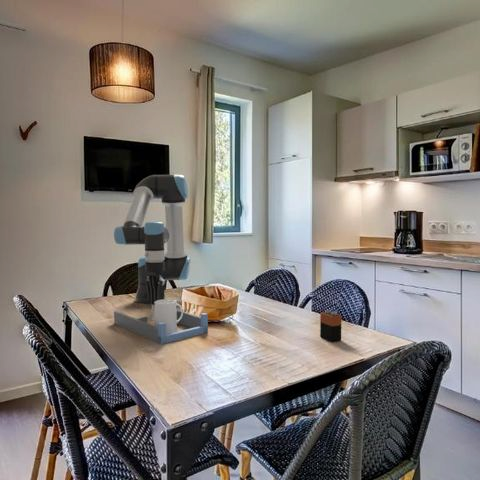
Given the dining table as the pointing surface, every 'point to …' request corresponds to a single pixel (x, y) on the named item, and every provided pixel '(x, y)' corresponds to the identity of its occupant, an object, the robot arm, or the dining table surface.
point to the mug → (167, 314)
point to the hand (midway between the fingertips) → (155, 320)
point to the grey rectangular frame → (150, 330)
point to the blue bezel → (184, 333)
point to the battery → (330, 326)
